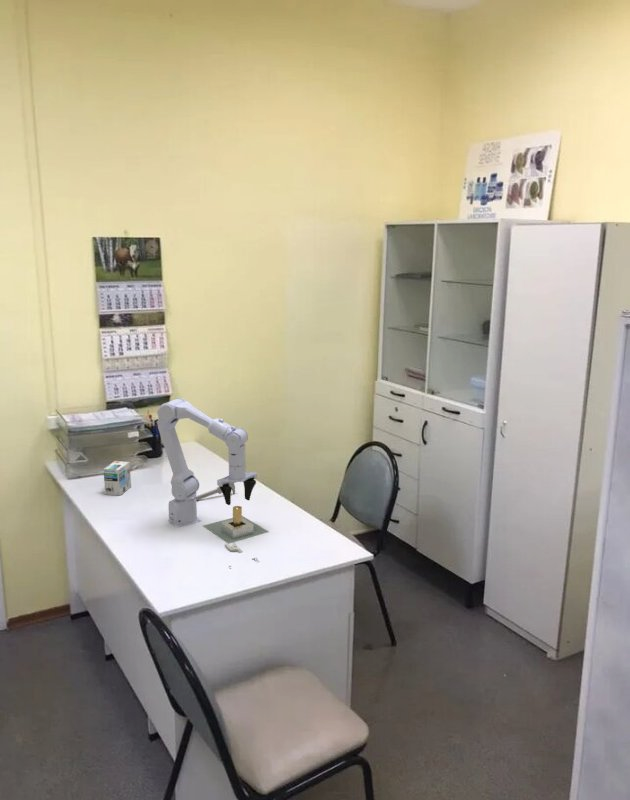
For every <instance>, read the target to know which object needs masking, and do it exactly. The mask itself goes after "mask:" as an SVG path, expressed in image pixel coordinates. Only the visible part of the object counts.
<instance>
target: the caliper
mask: <svg viewBox="0 0 630 800" xmlns="http://www.w3.org/2000/svg"><path fill="white" fill-rule="evenodd" d="M229 485H230V487H231V488H232V490H231V492H232V495H235V494H236V486H235V483H231V484H229ZM216 494H219V495H220V494H223V493H222V491H221V489H220V487H219V486H217V487H216V488H214V489H211V490H209V491H206V492H204V493H200V494H198V495H196V502H197V501H200V500H202V499H205V498H207V497H209V496H213V495H216Z"/></svg>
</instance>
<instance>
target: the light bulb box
mask: <svg viewBox="0 0 630 800" xmlns="http://www.w3.org/2000/svg"><path fill="white" fill-rule="evenodd" d="M103 479H104V481H103V483H104V494H105V495H110V496H122V495H123V494H124V493H125V492H127V491H128V490H129V489H130V488H132V478H131V462H129V461H122V460H121V461H119V460H114V461H113V462H111V463H110V464H108V465H107V466H105V468H103Z"/></svg>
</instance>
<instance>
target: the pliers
mask: <svg viewBox="0 0 630 800" xmlns="http://www.w3.org/2000/svg"><path fill="white" fill-rule="evenodd" d="M224 547H225V549H226V550H227V551H230V552H232V553H233V552H236V553H238V554H242V553H243V550H242V549H241V548H240V547H238V545H237V544H236V542H233V543H232V546H231V545H229V544H228V543H224ZM253 559H256V561H259V559H258V558H257V557H254V558H252V560H253ZM256 561H255V562H256ZM228 566H229V567H232V565H228ZM229 567H228V568H229Z"/></svg>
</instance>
